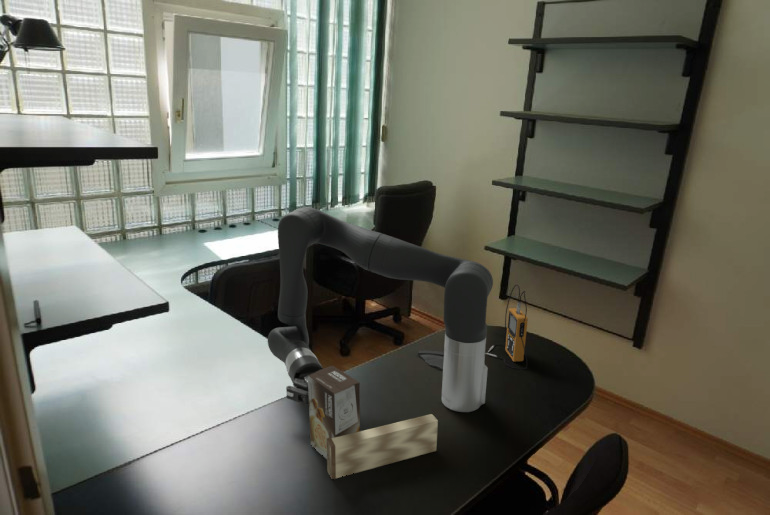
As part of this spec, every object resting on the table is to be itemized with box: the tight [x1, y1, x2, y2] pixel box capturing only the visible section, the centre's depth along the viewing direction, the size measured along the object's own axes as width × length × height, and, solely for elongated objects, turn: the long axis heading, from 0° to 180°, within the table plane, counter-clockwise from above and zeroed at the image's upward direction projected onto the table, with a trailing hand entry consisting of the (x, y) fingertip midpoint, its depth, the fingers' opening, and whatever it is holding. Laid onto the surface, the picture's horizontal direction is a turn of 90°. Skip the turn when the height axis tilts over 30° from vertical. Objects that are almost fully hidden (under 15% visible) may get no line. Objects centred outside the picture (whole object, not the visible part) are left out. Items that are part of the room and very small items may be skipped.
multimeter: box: [485, 284, 529, 370], centre depth 140 cm, size 15×10×20 cm
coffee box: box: [308, 365, 361, 460], centre depth 102 cm, size 9×6×16 cm
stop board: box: [326, 413, 439, 480], centre depth 100 cm, size 22×3×7 cm, turn 113°
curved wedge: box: [417, 349, 444, 372], centre depth 140 cm, size 8×14×2 cm, turn 47°
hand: (325, 408), depth 106 cm, fingers closed
